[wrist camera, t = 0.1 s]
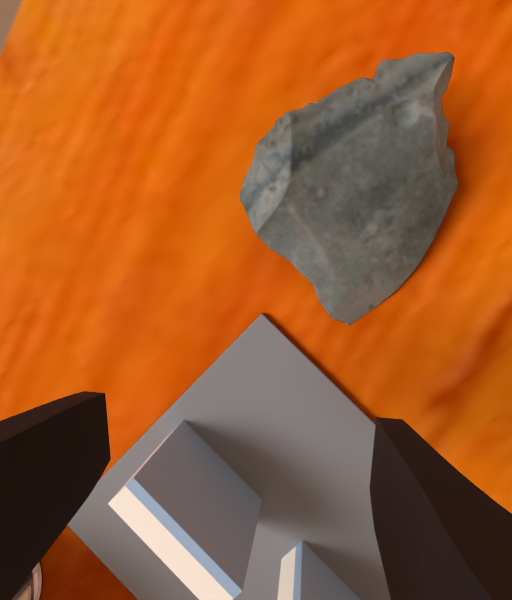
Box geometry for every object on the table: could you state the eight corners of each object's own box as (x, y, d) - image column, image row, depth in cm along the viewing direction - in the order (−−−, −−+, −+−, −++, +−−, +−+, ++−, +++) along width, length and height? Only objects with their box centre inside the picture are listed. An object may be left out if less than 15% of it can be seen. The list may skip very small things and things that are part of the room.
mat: (269, 731, 22) (269, 739, 22) (65, 514, 23) (61, 519, 22) (502, 548, 19) (506, 553, 19) (262, 312, 20) (261, 313, 20)
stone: (507, 197, 19) (403, 13, 17) (564, 208, 16) (442, -26, 13) (332, 317, 22) (219, 174, 19) (345, 350, 18) (207, 180, 16)
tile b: (242, 518, 21) (214, 615, 15) (164, 439, 21) (107, 503, 15) (262, 499, 21) (242, 590, 15) (183, 419, 21) (133, 478, 15)
